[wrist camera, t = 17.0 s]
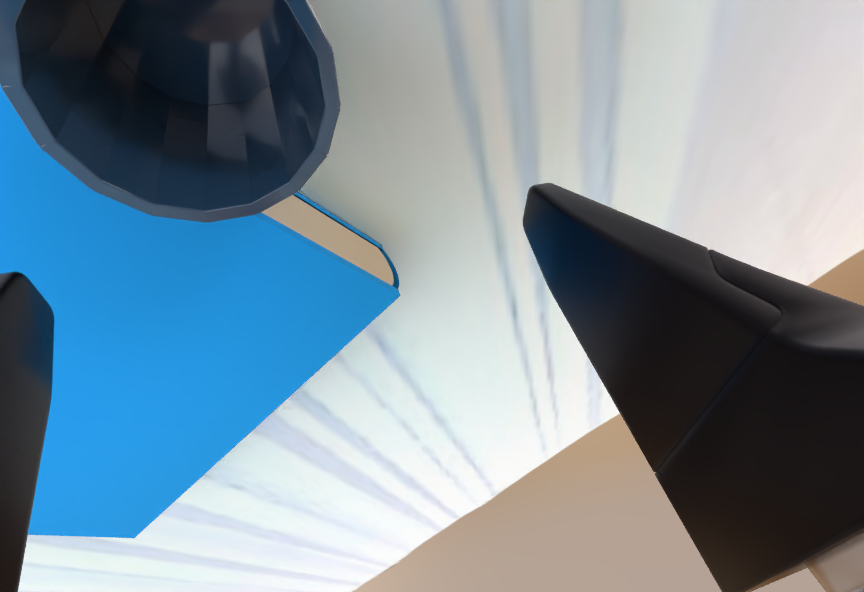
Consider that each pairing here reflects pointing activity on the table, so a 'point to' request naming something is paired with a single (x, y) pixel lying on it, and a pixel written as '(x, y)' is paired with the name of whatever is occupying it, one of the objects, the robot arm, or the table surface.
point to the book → (169, 331)
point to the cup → (175, 98)
